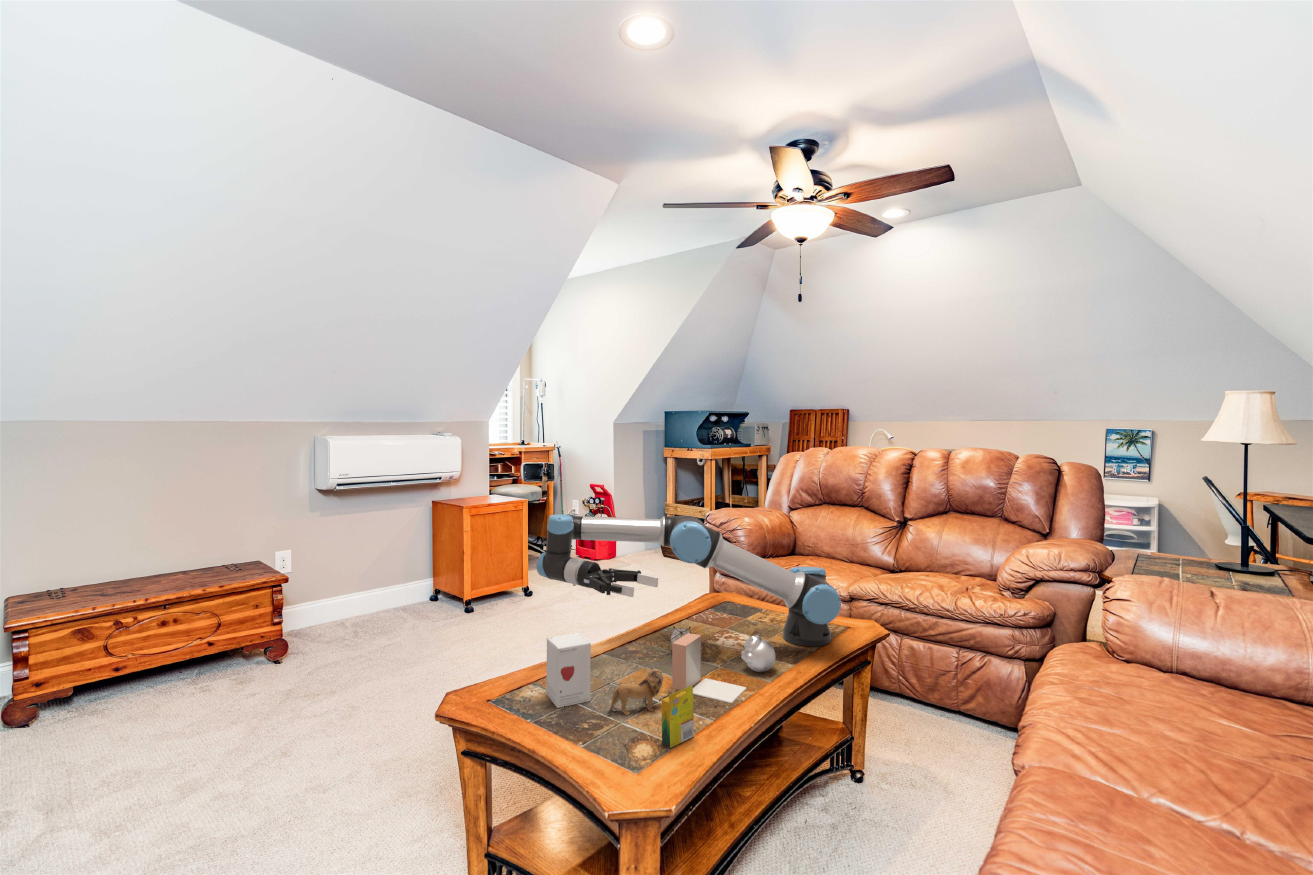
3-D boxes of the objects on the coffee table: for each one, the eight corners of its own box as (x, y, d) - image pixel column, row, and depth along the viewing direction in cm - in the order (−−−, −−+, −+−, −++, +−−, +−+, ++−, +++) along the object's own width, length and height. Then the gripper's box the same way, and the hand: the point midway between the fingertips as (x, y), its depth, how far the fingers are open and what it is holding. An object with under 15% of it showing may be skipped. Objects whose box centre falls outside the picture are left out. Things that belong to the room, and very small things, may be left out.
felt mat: (746, 688, 162) (746, 687, 162) (731, 703, 154) (731, 702, 154) (705, 679, 168) (705, 677, 168) (688, 692, 160) (688, 691, 160)
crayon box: (685, 732, 140) (685, 680, 139) (694, 737, 137) (694, 684, 137) (660, 743, 135) (660, 690, 135) (669, 748, 133) (669, 694, 132)
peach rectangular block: (701, 679, 169) (701, 635, 168) (685, 691, 161) (685, 645, 160) (687, 676, 171) (687, 632, 170) (672, 688, 163) (672, 643, 162)
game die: (685, 664, 189) (703, 635, 191) (684, 664, 181) (702, 634, 183) (661, 646, 191) (679, 618, 193) (658, 646, 183) (677, 616, 185)
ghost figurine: (744, 662, 180) (744, 628, 180) (777, 666, 177) (777, 632, 177) (738, 674, 172) (738, 638, 171) (772, 679, 168) (772, 642, 168)
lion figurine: (657, 699, 156) (657, 664, 156) (667, 708, 151) (667, 671, 151) (603, 711, 150) (603, 674, 149) (611, 721, 145) (611, 683, 145)
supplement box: (556, 709, 151) (556, 648, 151) (545, 694, 159) (545, 636, 159) (591, 701, 155) (591, 642, 155) (579, 687, 163) (578, 631, 163)
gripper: (605, 577, 194) (665, 591, 183) (556, 594, 172) (620, 610, 161) (607, 554, 193) (667, 566, 183) (558, 567, 172) (622, 582, 161)
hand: (645, 587), depth 172 cm, fingers open, 13 cm apart
